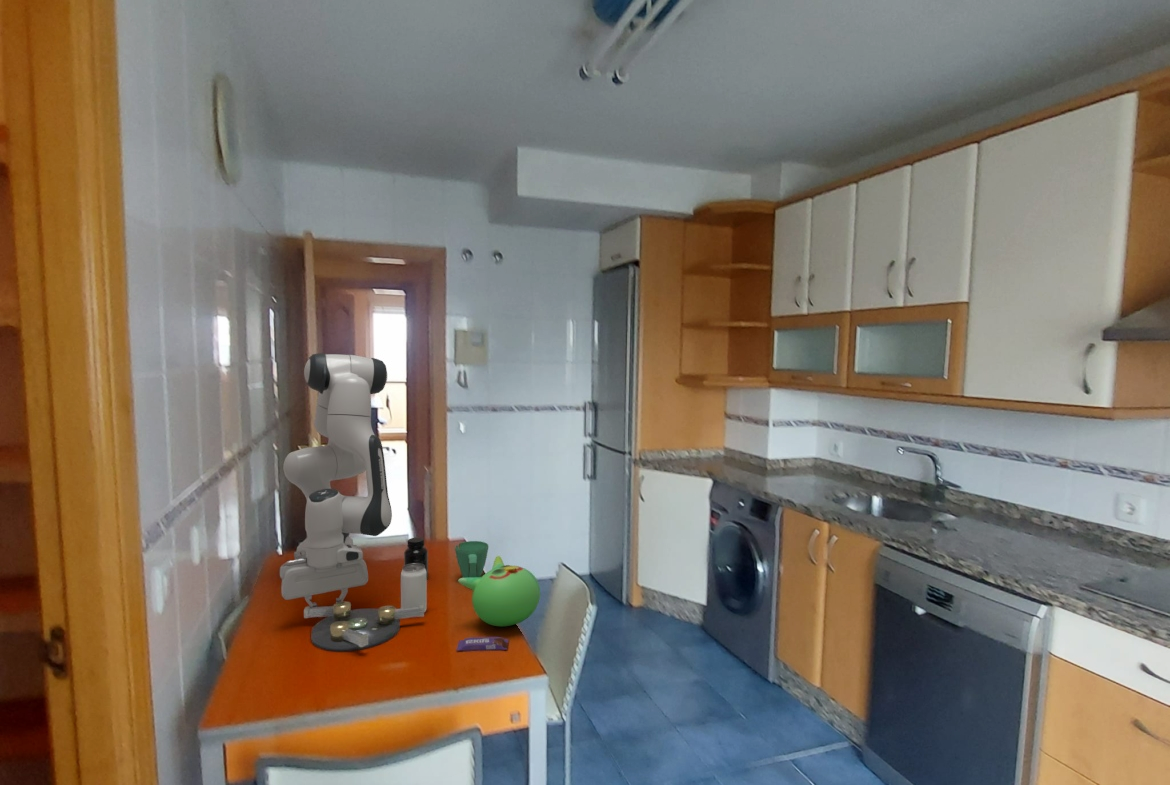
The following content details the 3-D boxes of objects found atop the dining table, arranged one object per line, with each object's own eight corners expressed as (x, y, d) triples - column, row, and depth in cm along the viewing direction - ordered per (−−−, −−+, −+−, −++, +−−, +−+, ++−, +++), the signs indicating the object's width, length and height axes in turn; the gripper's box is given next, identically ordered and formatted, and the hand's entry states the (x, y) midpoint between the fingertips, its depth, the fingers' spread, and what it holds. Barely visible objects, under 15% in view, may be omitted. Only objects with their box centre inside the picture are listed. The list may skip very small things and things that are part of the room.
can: (419, 618, 157) (419, 571, 156) (396, 615, 158) (396, 569, 158) (430, 607, 163) (430, 563, 163) (408, 605, 165) (408, 561, 164)
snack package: (456, 646, 139) (459, 636, 144) (456, 654, 139) (459, 644, 144) (507, 645, 140) (508, 635, 145) (507, 653, 140) (508, 643, 145)
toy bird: (510, 643, 144) (511, 582, 143) (455, 627, 152) (455, 569, 151) (551, 615, 159) (552, 560, 158) (499, 602, 168) (499, 549, 167)
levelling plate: (296, 633, 148) (296, 620, 148) (372, 607, 163) (372, 596, 163) (337, 660, 135) (337, 647, 135) (416, 630, 150) (415, 618, 150)
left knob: (378, 625, 149) (378, 613, 148) (378, 618, 152) (378, 606, 152) (424, 619, 152) (424, 607, 152) (423, 613, 156) (423, 601, 156)
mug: (454, 574, 189) (454, 542, 188) (487, 571, 191) (487, 540, 191) (455, 591, 175) (455, 557, 174) (490, 589, 177) (490, 555, 176)
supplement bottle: (400, 578, 185) (400, 539, 184) (421, 573, 189) (421, 534, 189) (410, 584, 180) (410, 544, 179) (432, 579, 184) (431, 539, 184)
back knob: (352, 612, 156) (352, 601, 155) (348, 619, 152) (348, 607, 152) (307, 614, 154) (307, 602, 154) (302, 621, 150) (302, 609, 150)
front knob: (326, 638, 141) (326, 625, 141) (341, 632, 145) (341, 619, 145) (357, 650, 136) (357, 637, 135) (372, 643, 139) (372, 630, 139)
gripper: (280, 566, 147) (282, 622, 148) (369, 551, 158) (370, 603, 159) (277, 558, 152) (279, 613, 153) (363, 544, 163) (364, 595, 164)
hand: (326, 608), depth 156 cm, fingers open, 5 cm apart
